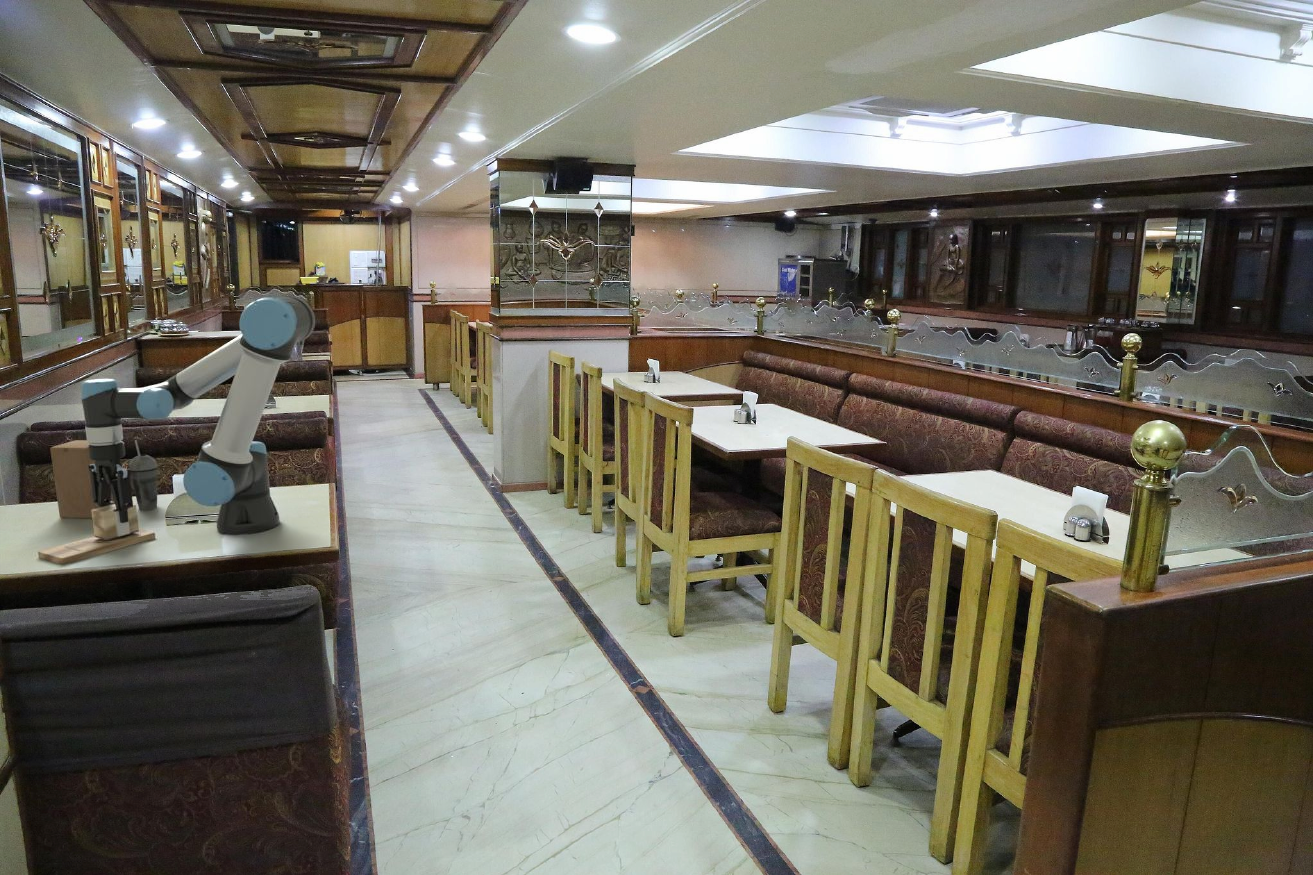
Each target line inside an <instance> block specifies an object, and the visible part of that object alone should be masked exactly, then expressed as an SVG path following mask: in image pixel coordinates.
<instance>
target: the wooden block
mask: <svg viewBox="0 0 1313 875" xmlns="http://www.w3.org/2000/svg"><path fill="white" fill-rule="evenodd" d="M89 444H90V443H88V442H87V439H84V440H83V439H82V440H81V439H80V440H79V439H76V440H72V441H68V442H65V443H61V444H58V445H55V446H54V445H53V446H52V447H50V449H49V450H50V455H51V463H52V469H53V477H54V486H55V491H56V492H55V493H56V499H57V507H58V513H59V518H60V519H92V513H91V510H93V509H97V508H100V507H99V506H98V503H94V501H93V493H92V485H91V476H90V472H89V469H88V465H91V464H95V460H91V459H90V458H89V452H88V445H89ZM96 473H97V472H96ZM112 481H113V480H112ZM111 501H112V502H114V499H113V495H112V491H111ZM114 504H115V502H114V503H113V504H110V505H114Z"/></svg>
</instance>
